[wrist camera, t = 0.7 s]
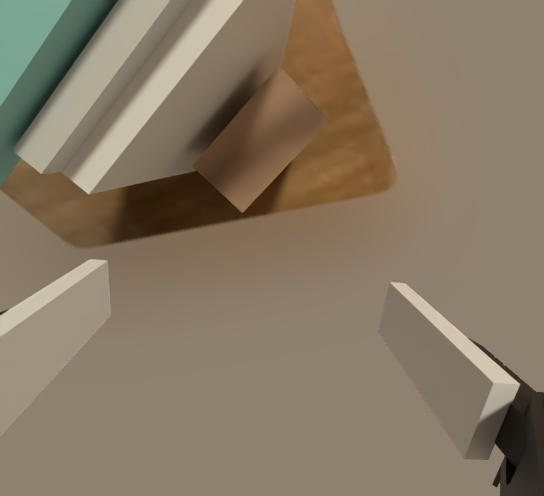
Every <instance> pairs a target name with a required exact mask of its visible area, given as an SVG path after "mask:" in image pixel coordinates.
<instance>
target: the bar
mask: <svg viewBox="0 0 544 496" xmlns="http://www.w3.org/2000/svg"><path fill="white" fill-rule="evenodd" d="M117 1H118V0H0V187H1V185H2V184H3V182H4V181H5V180H6V178H7V177H8V175H9V174H10V173H11V171H12V170H13V168H14V167H15V166H16V164H17V163H18V161H19V160H20V159H21V157H20V156H18V155H17V154H16V153H15V152H13V151H12V150H13V149H14V147H15V146H16V145H17V143H18V142H19V140H20V139H21V137H22V136H23V135H24V133H25V132H26V130H27V129H28V128H29V126H30V125H31V123H32V122H33V120H34V119H35V118H36V116H37V115H38V113H39V112H40V111H41V109H42V108H43V106H44V105H45V103H46V102H47V101H48V99H49V98H50V96H51V95H52V93H53V92H54V91H55V89H56V88H57V86H58V85H59V84H60V82H61V81H62V79H63V78H64V76H65V75H66V74H67V72H68V71H69V69H70V68H71V67H72V65H73V64H74V62H75V61H76V59H77V58H78V57H79V55H80V54H81V52H82V51H83V50H84V48H85V47H86V45H87V44H88V42H89V41H90V40H91V38H92V37H93V35H94V34H95V33H96V31H97V30H98V28H99V27H100V25H101V24H102V23H103V21H104V20H105V18H106V17H107V15H108V14H109V13H110V11H111V10H112V8H113V7H114V6H115V4H116V3H117Z"/></svg>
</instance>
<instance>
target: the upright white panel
mask: <svg viewBox="0 0 544 496" xmlns="http://www.w3.org/2000/svg"><path fill="white" fill-rule="evenodd" d="M296 1H297V0H118V1H117V3H116V4H115V6H114V7H113V8H112V10H111V11H110V13H109V14H108V15H107V17H106V18H105V20H104V21H103V23H102V24H101V25H100V27H99V28H98V30H97V31H96V33H95V34H94V35H93V37H92V38H91V40H90V41H89V42H88V44H87V45H86V47H85V48H84V50H83V51H82V52H81V54H80V55H79V57H78V58H77V59H76V61H75V62H74V64H73V65H72V67H71V68H70V69H69V71H68V72H67V74H66V75H65V76H64V78H63V79H62V81H61V82H60V84H59V85H58V86H57V88H56V89H55V91H54V92H53V93H52V95H51V96H50V98H49V99H48V101H47V102H46V103H45V105H44V106H43V108H42V109H41V111H40V112H39V113H38V115H37V116H36V118H35V119H34V120H33V122H32V123H31V125H30V126H29V128H28V129H27V130H26V132H25V133H24V135H23V136H22V137H21V139H20V140H19V142H18V143H17V145H16V146H15V147H14V149H13V150H12V151H13V152H15V153H16V154H17V155H18V156H20V157H21V158H22V159H23V160H25V161H26V162H27V163H28V164H30V165H31V166H32V167H33V168H35V169H36V170H37V171H38V172H40V173H41V174H46V173H59V172H62V173H63V174H64V175H66V176H67V177H68V178H69V179H70V180H72V181H73V182H74V183H75V184H77V185H78V186H79V187H80V188H82V189H83V190H84V191H85V192H87V193H88V194H93V193H97V192H102V191H107V190H111V189H116V188H120V187H125V186H130V185H134V184H139V183H143V182H148V181H152V180H157V179H162V178H166V177H171V176H175V175H180V174H184V173H189V172H194V171H196V170H195V169H194V168H193V167H192V166H193V165H194V163H195V162H196V161H197V160H198V159H199V158H200V156H201V155H202V154H203V153H204V152H205V151H206V149H207V148H208V147H209V146H210V145H211V144H212V143H213V141H214V140H215V139H216V138H217V137H218V136H219V134H220V133H221V132H222V131H223V130H224V129H225V127H226V126H227V125H228V124H229V123H230V122H231V121H232V119H233V118H234V117H235V116H236V115H237V114H238V112H239V111H240V110H241V109H242V108H243V107H244V105H245V104H246V103H247V102H248V101H249V100H250V98H251V97H252V96H253V95H254V94H255V93H256V92H257V90H258V89H259V88H260V87H261V86H262V85H263V83H264V82H265V81H266V80H267V79H268V78H269V76H270V75H271V74H272V73H273V72H274V71H275V69H276V68H277V67H278V66H279V65H280V66H281V65H282V61H283V56H284V52H285V48H286V44H287V39H288V35H289V31H290V27H291V23H292V18H293V14H294V10H295V6H296Z"/></svg>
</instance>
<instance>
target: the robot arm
mask: <svg viewBox="0 0 544 496" xmlns="http://www.w3.org/2000/svg"><path fill="white" fill-rule="evenodd" d="M108 271H109V270H108V261H107V260H94V259H90V260H88V261H87V262H85V263H83V264H82V265H80V266H79V267H77V268H75V269H74V270H72V271H71V272H69V273H67V274H66V275H64V276H63V277H61V278H60V279H58V280H56V281H55V282H53V283H51V284H50V285H48V286H47V287H45V288H43V289H42V290H40V291H39V292H37V293H35V294H34V295H32V296H31V297H29V298H27V299H26V300H24V301H23V302H21V303H19V304H18V305H16V306H15V307H13V308H11V309H10V310H6V311H3V312H0V436H1V435H2V434H3V433H4V432H5V431H6V430H7V429H8V428H9V427H10V425H11V424H12V423H13V422H14V421H15V420H16V419H17V418H18V417H19V416H20V415H21V413H22V412H23V411H24V410H25V409H26V408H27V407H28V406H29V405H30V404H31V402H32V401H33V400H34V399H35V398H36V397H37V396H38V395H39V394H40V393H41V392H42V390H43V389H44V388H45V387H46V386H47V385H48V384H49V383H50V382H51V381H52V379H53V378H54V377H55V376H56V375H57V374H58V373H59V372H60V371H61V370H62V368H63V367H64V366H65V365H66V364H67V363H68V362H69V361H70V360H71V359H72V357H73V356H74V355H75V354H76V353H77V352H78V351H79V350H80V349H81V348H82V347H83V345H84V344H85V343H86V342H87V341H88V340H89V339H90V338H91V337H92V336H93V334H94V333H95V332H96V331H97V330H98V329H99V328H100V327H101V326H102V325H103V323H104V322H105V321H106V320H107V319H108V318H109V317H110V316H111V301H110V285H109V272H108ZM378 333H379V334H380V336H381V337H382V338H383V340H384V341H385V343H386V344H387V346H388V347H389V349H390V350H391V352H392V353H393V355H394V356H395V358H396V359H397V361H398V362H399V364H400V365H401V367H402V368H403V370H404V371H405V372H406V374H407V375H408V377H409V378H410V380H411V381H412V383H413V384H414V386H415V387H416V389H417V390H418V391H419V393H420V395H421V396H422V398H423V399H424V401H425V402H426V403H427V405H428V407H429V408H430V409H431V411H432V412H433V414H434V415H435V417H436V418H437V420H438V421H439V423H440V424H441V426H442V427H443V429H444V430H445V432H446V433H447V435H448V436H449V438H450V439H451V441H452V442H453V443H454V445H455V446H456V448H457V449H458V451H459V452H460V454H461V455H462V457H463V458H464V459H481V460H488V459H489V457H490V454H491V452H492V450H493V447H494V445H495V444H496V445H497V446H498V448H499V449H500V450H501V451H502V452H503V454H504V455H505V457H504V459H503V462H502V464H501V466H500V468H499V471H498V473H497V475H496V477H495V480H494V482H493V485H494V486H495V487H497V486H498V484H499V483H500V496H544V393H543V392H536V391H534V390H533V389H532V388H531V387H530V386H529V385H527V384H526V383H525V382H524V381H523V380H521V379H520V378H519V377H518V376H517V375H516V374H514V373H513V372H512V371H511V370H510V369H509V368H507V367H506V366H504V365H503V363H502V362H500V361H499V360H498V359H497V358H494V356H493V355H492V354H491V353H490V352H489V351H488V350H486V349H485V348H484V347H483V346H481V345H479V344H478V343H476V342H474V341H473V340H471V339H469V338H467V337H465V336H464V335H463V334H462V333H461V332H460V331H459V330H458V329H457V328H455V327H454V326H453V325H452V324H450V322H448V321H447V320H446V319H445V318H444V317H443V316H442V315H440V314H439V313H438V312H437V311H436V310H435V309H434V308H432V307H431V306H430V305H429V304H428V303H427V302H426V301H425V300H423V299H422V298H421V297H420V296H419V295H418V294H417V293H415V292H414V291H413V290H412V289H411V288H410V287H408V286H407V285H406V284H405V283H393V282H390V283H389V288H388V292H387V296H386V301H385V305H384V309H383V313H382V318H381V322H380V326H379V330H378Z"/></svg>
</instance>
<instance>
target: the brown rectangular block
mask: <svg viewBox="0 0 544 496" xmlns="http://www.w3.org/2000/svg"><path fill="white" fill-rule="evenodd" d="M328 122H329V120H328V119H327V118H326V117H325V116H324V114H323V113H322V112H321V111H320V110H319V109H318V108H317V107H316V105H315V104H314V103H313V102H312V101H311V100H310V99H309V98H308V97H307V95H306V94H305V93H304V92H303V91H302V90H301V89H300V88H299V87H298V85H297V84H296V83H295V82H294V81H293V80H292V79H291V78H290V76H289V75H288V74H287V73H286V72H285V71H284V70H283V69H282V68H281V66H280V65H279V66H278V67H277V68H276V69H275V71H274V72H273V73H272V74H271V75H270V76H269V78H268V79H267V80H266V81H265V82H264V83H263V85H262V86H261V87H260V88H259V89H258V90H257V92H256V93H255V94H254V95H253V96H252V97H251V98H250V100H249V101H248V102H247V103H246V104H245V105H244V107H243V108H242V109H241V110H240V111H239V112H238V114H237V115H236V116H235V117H234V118H233V119H232V121H231V122H230V123H229V124H228V125H227V126H226V127H225V129H224V130H223V131H222V132H221V133H220V134H219V136H218V137H217V138H216V139H215V140H214V141H213V143H212V144H211V145H210V146H209V147H208V148H207V149H206V151H205V152H204V153H203V154H202V155H201V156H200V158H199V159H198V160H197V161H196V162H195V163H194V165H193V166H192V167H193V168H194V169H195V170H196V171H197V172H199V173H200V174H201V175H202V176H203V177H204V178H205V179H206V180H207V181H208V182H209V183H211V184H212V185H213V186H214V187H215V188H216V189H217V190H218V191H219V192H220V193H221V194H222V195H224V196H225V197H226V198H227V199H228V200H229V201H230V202H231V203H232V204H233V205H234V206H236V207H237V208H238V209H239V210H240V211H241V212H242V213H243V212H244V211H245V210H246V209H247V208H248V207H249V206H250V205H251V204H252V202H253V201H254V200H255V199H256V198H257V197H258V196H259V195H260V194H261V193H262V192H263V191H264V190H265V189H266V188H267V187H268V185H269V184H270V183H271V182H272V181H273V180H274V179H275V178H276V177H277V176H278V175H279V174H280V173H281V172H282V171H283V169H284V168H285V167H286V166H287V165H288V164H289V163H290V162H291V161H292V160H293V159H294V158H295V157H296V156H297V155H298V154H299V152H300V151H301V150H302V149H303V148H304V147H305V146H306V145H307V144H308V143H309V142H310V141H311V140H312V139H313V138H314V137H315V135H316V134H317V133H318V132H319V131H320V130H321V129H322V128H323V127H324V126H325V125H326V124H327V123H328Z"/></svg>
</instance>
